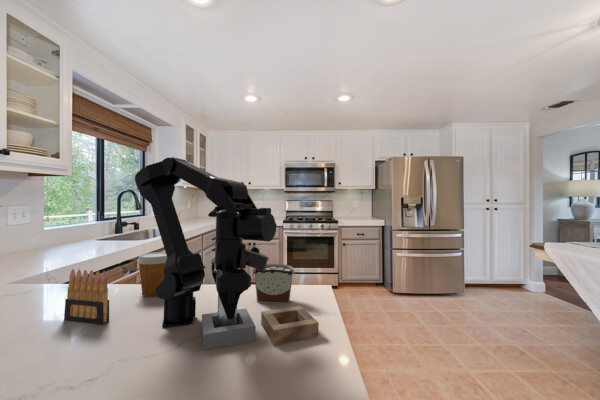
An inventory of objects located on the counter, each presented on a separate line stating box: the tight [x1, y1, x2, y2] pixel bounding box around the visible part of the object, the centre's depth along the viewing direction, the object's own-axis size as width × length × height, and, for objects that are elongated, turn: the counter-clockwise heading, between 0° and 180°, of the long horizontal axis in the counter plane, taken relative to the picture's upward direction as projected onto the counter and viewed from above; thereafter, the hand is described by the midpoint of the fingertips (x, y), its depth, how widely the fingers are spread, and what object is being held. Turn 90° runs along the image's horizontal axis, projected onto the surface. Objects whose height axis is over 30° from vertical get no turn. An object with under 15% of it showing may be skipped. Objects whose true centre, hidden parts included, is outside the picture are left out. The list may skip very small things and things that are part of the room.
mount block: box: [260, 305, 320, 346], centre depth 59 cm, size 10×10×3 cm
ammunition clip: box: [63, 268, 110, 326], centre depth 62 cm, size 11×2×12 cm, turn 80°
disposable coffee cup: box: [137, 251, 167, 297], centre depth 82 cm, size 10×10×12 cm
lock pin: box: [217, 295, 238, 328], centre depth 57 cm, size 4×4×9 cm
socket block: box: [201, 308, 256, 351], centre depth 57 cm, size 10×10×3 cm
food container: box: [252, 263, 296, 305], centre depth 79 cm, size 12×6×10 cm, turn 84°
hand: (227, 310), depth 57 cm, fingers open, 9 cm apart
